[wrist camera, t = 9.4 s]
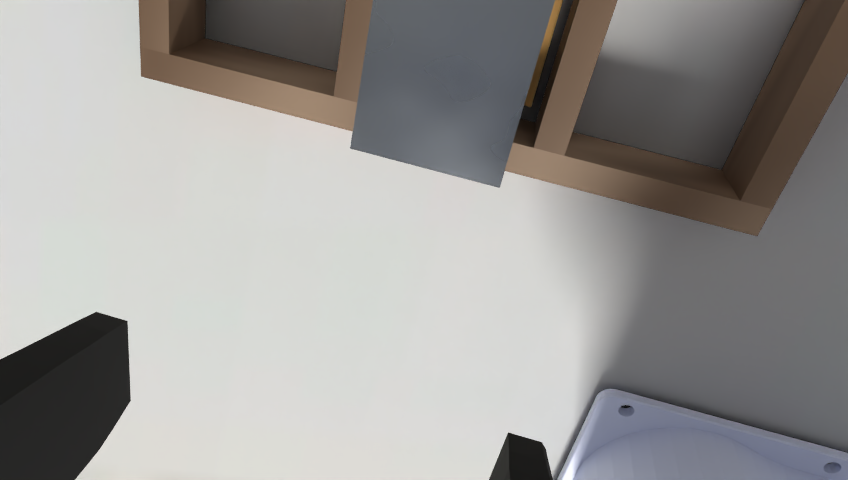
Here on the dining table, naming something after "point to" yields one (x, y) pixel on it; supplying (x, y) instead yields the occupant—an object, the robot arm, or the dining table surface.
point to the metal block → (448, 82)
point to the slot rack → (545, 105)
